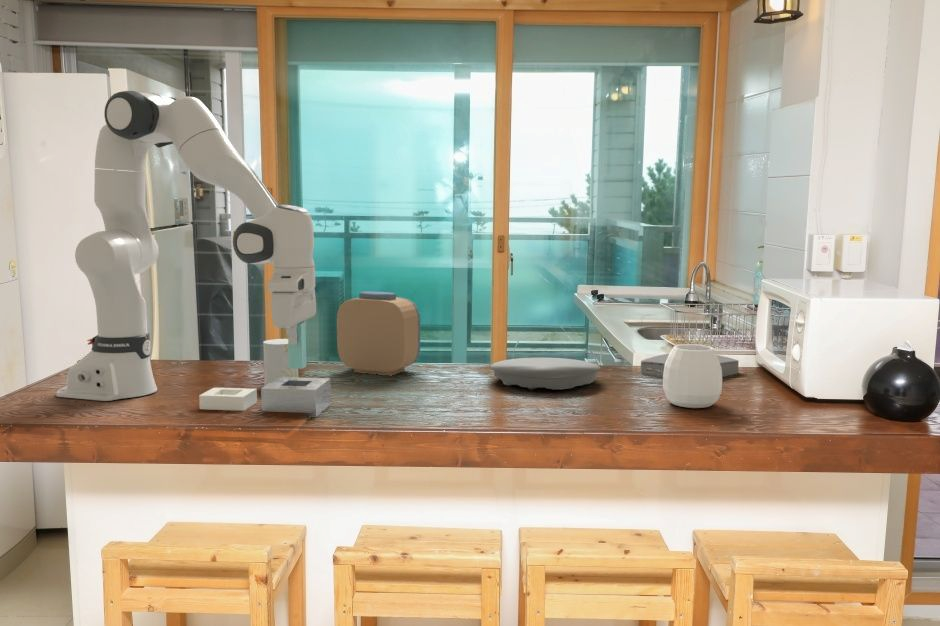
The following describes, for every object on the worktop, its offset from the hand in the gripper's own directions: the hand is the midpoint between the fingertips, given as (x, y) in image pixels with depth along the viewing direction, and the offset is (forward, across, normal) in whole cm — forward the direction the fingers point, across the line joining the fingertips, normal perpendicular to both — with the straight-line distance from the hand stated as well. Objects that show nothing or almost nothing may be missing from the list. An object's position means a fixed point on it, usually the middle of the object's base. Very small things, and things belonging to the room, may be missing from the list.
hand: (296, 342), depth 190 cm
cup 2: (+16, -16, +88) cm, 91 cm away
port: (+15, 0, 0) cm, 15 cm away
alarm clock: (+15, -44, +9) cm, 47 cm away
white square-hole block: (+15, +2, -15) cm, 22 cm away
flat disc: (+16, -36, +54) cm, 67 cm away
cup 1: (+15, -19, -10) cm, 27 cm away
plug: (+6, 0, 0) cm, 6 cm away
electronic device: (+17, -54, +92) cm, 108 cm away
